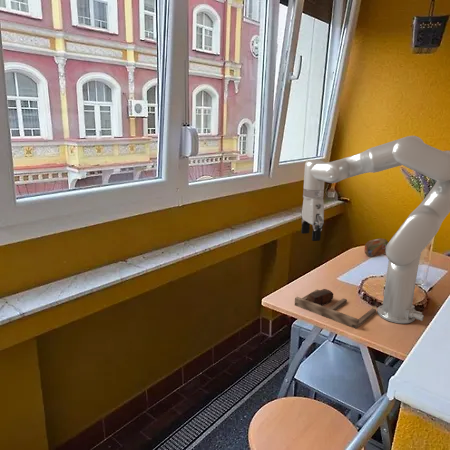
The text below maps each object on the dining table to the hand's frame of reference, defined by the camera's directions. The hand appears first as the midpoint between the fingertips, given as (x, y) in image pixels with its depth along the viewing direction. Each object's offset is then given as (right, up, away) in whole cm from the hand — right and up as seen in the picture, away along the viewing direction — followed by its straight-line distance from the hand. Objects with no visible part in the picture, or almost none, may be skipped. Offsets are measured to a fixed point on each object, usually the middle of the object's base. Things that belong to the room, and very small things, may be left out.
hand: (310, 236), depth 156 cm
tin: (+44, -11, +50) cm, 67 cm away
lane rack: (+7, -26, -7) cm, 28 cm away
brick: (+3, -26, -3) cm, 26 cm away
